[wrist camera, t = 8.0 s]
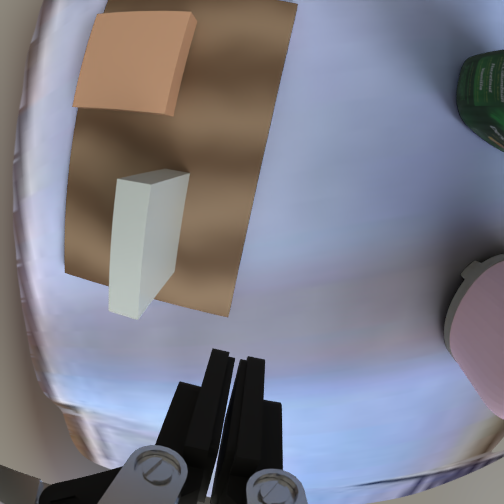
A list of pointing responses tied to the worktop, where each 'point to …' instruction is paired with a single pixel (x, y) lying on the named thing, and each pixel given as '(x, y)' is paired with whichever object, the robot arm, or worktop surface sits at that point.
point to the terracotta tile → (135, 61)
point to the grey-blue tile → (144, 237)
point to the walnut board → (187, 148)
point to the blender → (480, 330)
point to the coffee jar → (483, 96)
